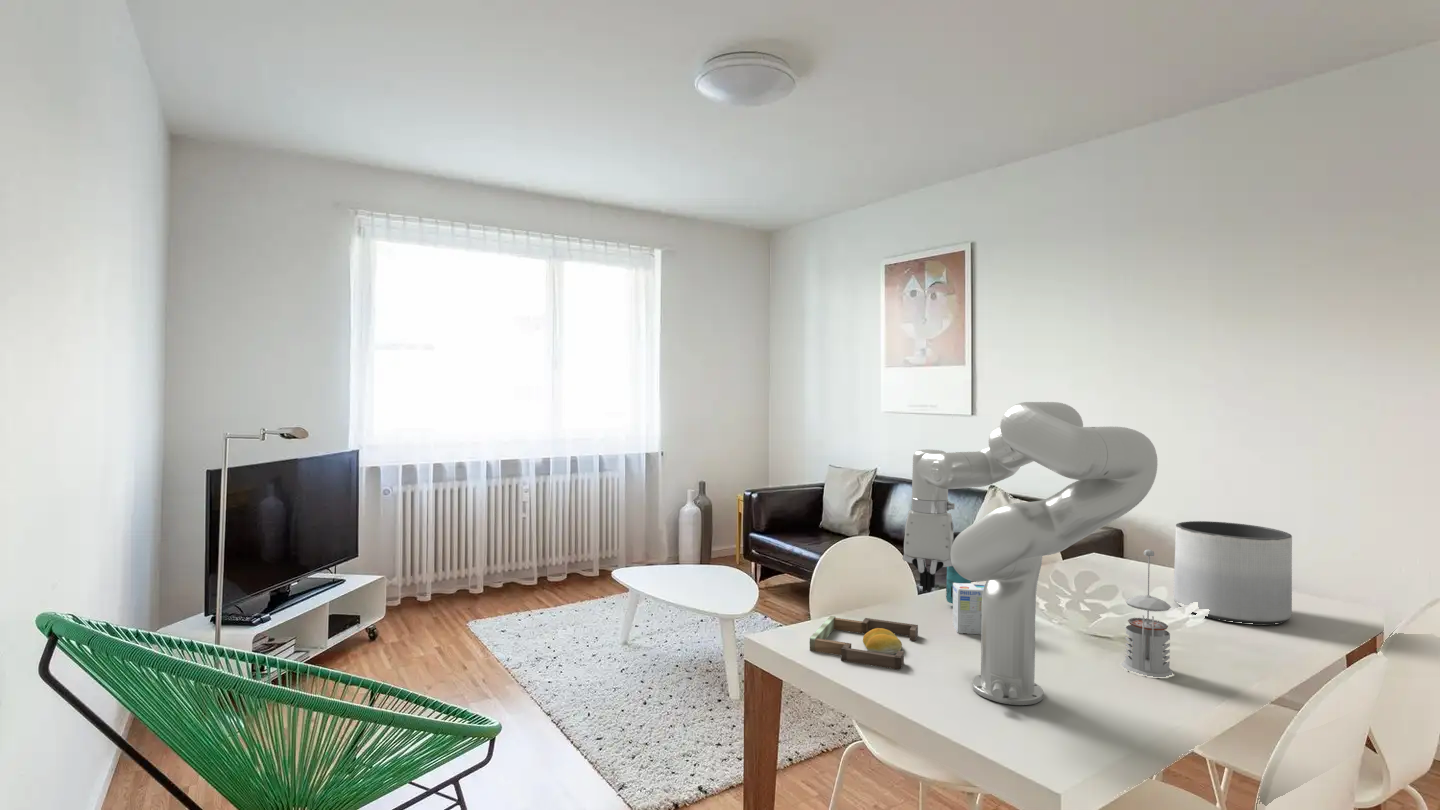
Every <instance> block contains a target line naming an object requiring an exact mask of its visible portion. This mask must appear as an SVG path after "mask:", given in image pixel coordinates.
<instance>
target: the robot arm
mask: <svg viewBox="0 0 1440 810" xmlns="http://www.w3.org/2000/svg"><path fill="white" fill-rule="evenodd" d="M912 456H913V457H912V473H911V475H912V480H911V481H912V482H911V484H912V485H911V509H910V510H908V513H907V516H906V517H907V518H906V522H905V528H904V529H905V530H904V540H903V555H902V560H903V561H904V562H907V563H909V564H912V565H913V566H914V567H915V568H916V569H917V570H918V572H919V586H920V587H922V592H927V593H931V592H932V590H933V588H934V589H935V586H936V573H937V572H938V571H940V570H941V569H942V568H946V567H949V566H953V567H954V569H955V570H956V572H957V573H958V574H959V575H961V576H962V577H963V578H965V579H967V580H970V581H972V582H977V583H979V582H985V583H984V584H985V586H984V590H983V595H982V621H981V634H980V674H978V675H976V676H974V677H973V678H972V681H971V688H972V689H973V691H974V692H975V693H976V694H978V695H979V696H981V697H983V698H984V699H987V700H990V701H993V702H996V703H1000V704H1005V705H1013V706H1029V705H1035V704H1038V703H1040V702H1042V700H1043V699H1044V691H1043V688H1042V687H1041V686H1040V685H1039V684H1038V683H1036V682H1035V679H1036V678H1035V671H1036V669H1035V666H1036V663H1035V662H1036V613H1037V609H1036V608H1037V607H1036V606H1037V590H1038V581H1039V577H1040V572H1041V569H1042V562H1043V556H1044V557H1046V556H1052V555H1055V554H1058V553H1060V552H1062V551H1064V550H1066V549H1068V548H1069V547H1071V546H1072V545H1074V544H1076V543H1078V542H1079V541H1082V540H1083V539H1084V538H1086V537H1088V536H1090V535H1092V534H1094V533H1095V532H1096V531H1099V530H1100V529H1102V528H1104V527H1106V526H1107V525H1109V524H1110V523H1112V522H1114V521H1116V520H1118V519H1120V518H1121V517H1122V516H1124V515H1125V514H1127V513H1129V512H1130V511H1132V510H1133V509H1134V508H1135V507H1137V506H1138V505H1139V504H1141V502H1142V501H1143V500H1144V499H1145V497H1147V495H1148V494H1149V492H1150V491H1151V489H1152V487H1153V485H1154V483H1155V479H1156V476H1157V473H1158V455H1157V450H1156V448H1155V445H1154V444H1153V442H1152V440H1151V439H1150V438H1149V437H1147V435H1145V434H1144V433H1142V432H1141V431H1138V430H1136V429H1132V428H1128V427H1125V426H1124V427H1123V426H1084V421H1083V419H1082V416H1081V415H1080V413H1079V412H1078V411H1077V410H1076V409H1075V408H1074V407H1072V406H1070V405H1069V404H1066V403H1062V402H1057V401H1022V402H1019V403H1016V404H1014V405H1012V406H1010V408H1008V409H1007V410H1006V411H1005V412H1004V413H1003V416H1002V417H1001V421H1000V425H999V426H997V427H995V428H994V429H992V430H991V432H990V433H989V436H988V447H986V448H984V449H981V450H977V451H955V452H946V451H944V450H940V449H918V450H916V451H915V452H914V453H913V455H912ZM1033 462H1035V463H1037V464H1039V465H1040V466H1042V467H1044V468H1047V469H1048V470H1051V471H1052V472H1054V473H1055V474H1057V475H1060V476H1062V477H1064V478H1067V479H1071V480H1075V481H1073V482H1072V483H1070V484H1068V485H1067V486H1065V487H1064V488H1063V489H1061V490H1060V491H1058V492H1056V493H1054V494H1053V495H1051V496H1049V497H1047V498H1045V499H1041V500H1036V501H1026V502H1025V501H1024V502H1016V503H1013V502H1012V503H1009V504H1004V505H1001V506H999V507H997V508H995V509H992V510H991V511H990V512H988V513H987V514H985V515H983V516H982V517H981V518H979V519H978V520H976V521H975V522H974V523H972V524H970V525H969V526H967V527H966V528H965V529H963V530H962V531H960V532H961V533H960V534H959V535H958V536H957V537H956V538H955V540H953V533H954V525H953V524H954V523H953V517H952V514H951V513H950V512H949V511H950V510H955V508H956V503H953V502H950V501H949V499H948V498H949V490H956V489H969V488H970V489H971V488H972V489H973V488H983V487H987V486H990V485H993V484H997V483H998V482H1000V481H1003V480H1005V479H1006V480H1007V479H1008V478H1010V477H1012V476H1014V475H1015V474H1016V473H1017V472H1018V471H1019V469H1020V468H1021V467H1024V466H1026V465H1028V464H1030V463H1033ZM926 560H930V561H931V563H930V568H927V565H926Z"/></svg>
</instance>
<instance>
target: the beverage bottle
mask: <svg viewBox="0 0 1440 810" xmlns="http://www.w3.org/2000/svg"><path fill="white" fill-rule="evenodd" d="M961 532H962V531H960V532H959V531H953V540H955V538H956V537H957V536H958V535H959V534H960V533H961ZM945 569H946V586H945V599H946V602H948V603H950V604H952V605H953V583H973V581H970V580H967V579H965V578H963V577H962V576H961V575H959V574H958V573H957V572H956V570H955V569H954V567H953V566H949V567H945Z"/></svg>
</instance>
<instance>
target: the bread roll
mask: <svg viewBox="0 0 1440 810" xmlns="http://www.w3.org/2000/svg"><path fill="white" fill-rule="evenodd" d="M862 642H863V645H864V647H865V648H866V651H871V652H878V653H884V654H891V655H895V654H897V652H898V651H902V646H903V644H902V642H901V640H900V638H898V636H897V634H894V633H892V632H891V631H889V630H887V629H883V628H875V629H872V630H869V631H868V632H867V633H866V634H864V635H863V638H862ZM894 653H895V654H894Z"/></svg>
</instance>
